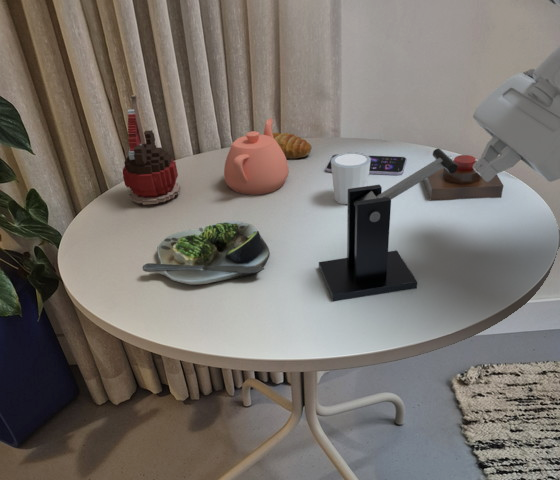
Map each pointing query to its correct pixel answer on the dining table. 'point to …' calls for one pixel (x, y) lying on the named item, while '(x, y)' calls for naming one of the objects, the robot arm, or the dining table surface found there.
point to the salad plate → (211, 253)
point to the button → (464, 162)
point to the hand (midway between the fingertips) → (479, 175)
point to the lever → (416, 176)
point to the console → (461, 186)
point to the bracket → (367, 252)
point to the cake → (147, 164)
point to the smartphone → (382, 165)
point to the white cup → (349, 173)
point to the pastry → (292, 145)
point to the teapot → (256, 163)
